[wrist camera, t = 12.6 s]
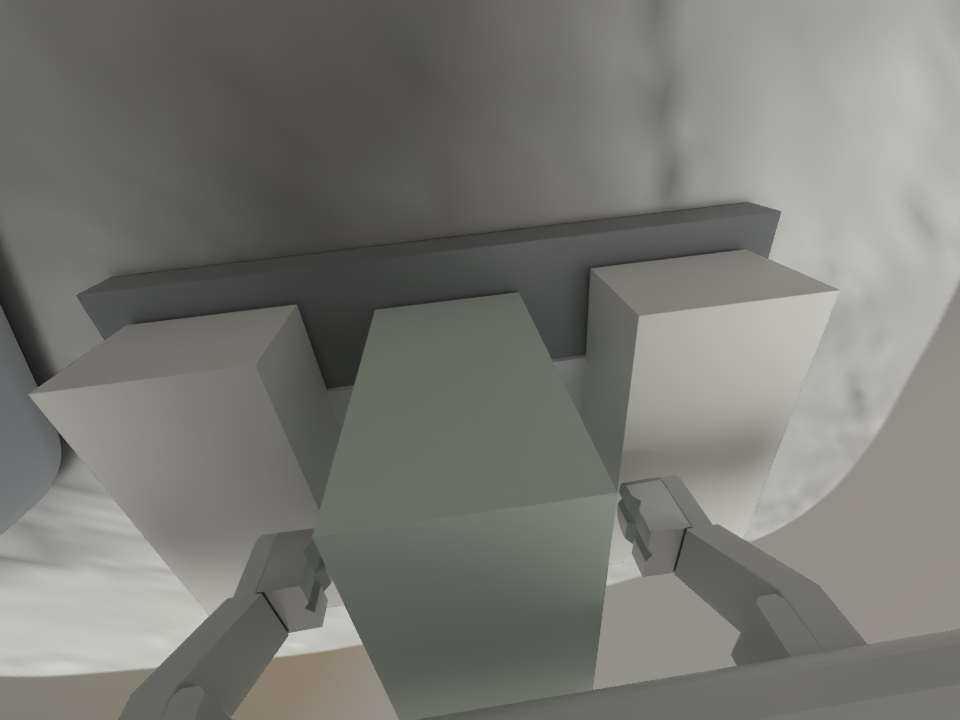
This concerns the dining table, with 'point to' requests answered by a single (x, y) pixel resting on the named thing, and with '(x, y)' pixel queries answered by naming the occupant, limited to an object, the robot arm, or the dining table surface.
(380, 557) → the block
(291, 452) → the board
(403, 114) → the dining table surface
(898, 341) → the dining table surface
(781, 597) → the robot arm
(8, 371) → the plastic bottle
